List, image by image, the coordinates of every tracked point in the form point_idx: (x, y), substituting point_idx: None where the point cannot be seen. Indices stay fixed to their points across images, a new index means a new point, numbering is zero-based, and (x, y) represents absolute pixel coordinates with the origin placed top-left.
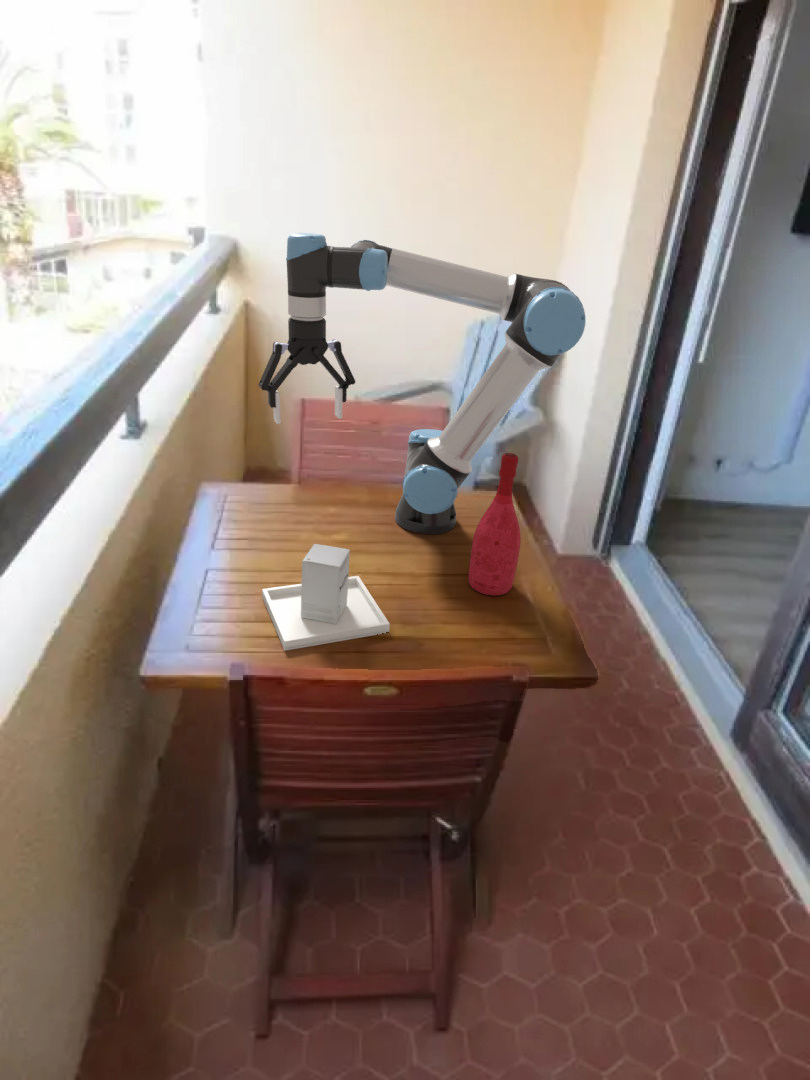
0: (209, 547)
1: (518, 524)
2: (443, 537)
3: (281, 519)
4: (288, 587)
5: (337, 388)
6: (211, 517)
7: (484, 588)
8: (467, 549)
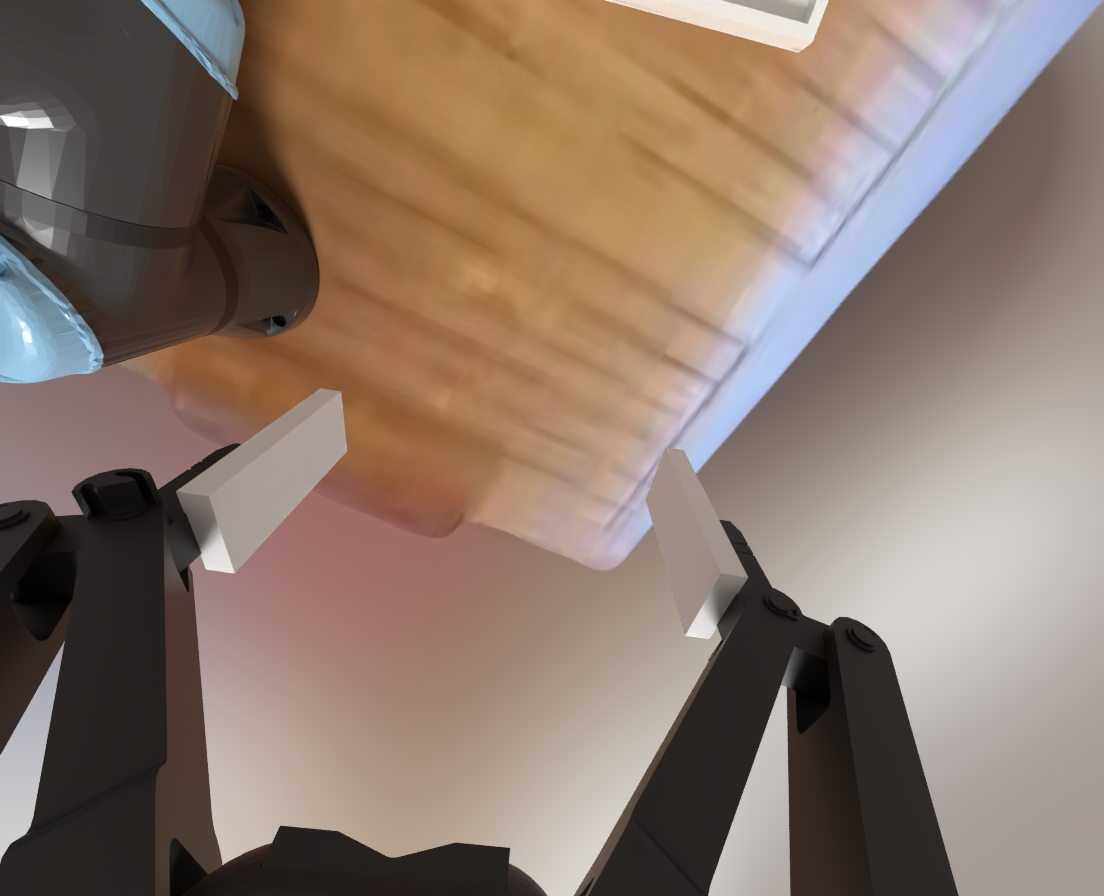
0: (748, 357)
1: None
2: None
3: (559, 405)
4: (750, 9)
5: (224, 524)
6: None
7: None
8: None
